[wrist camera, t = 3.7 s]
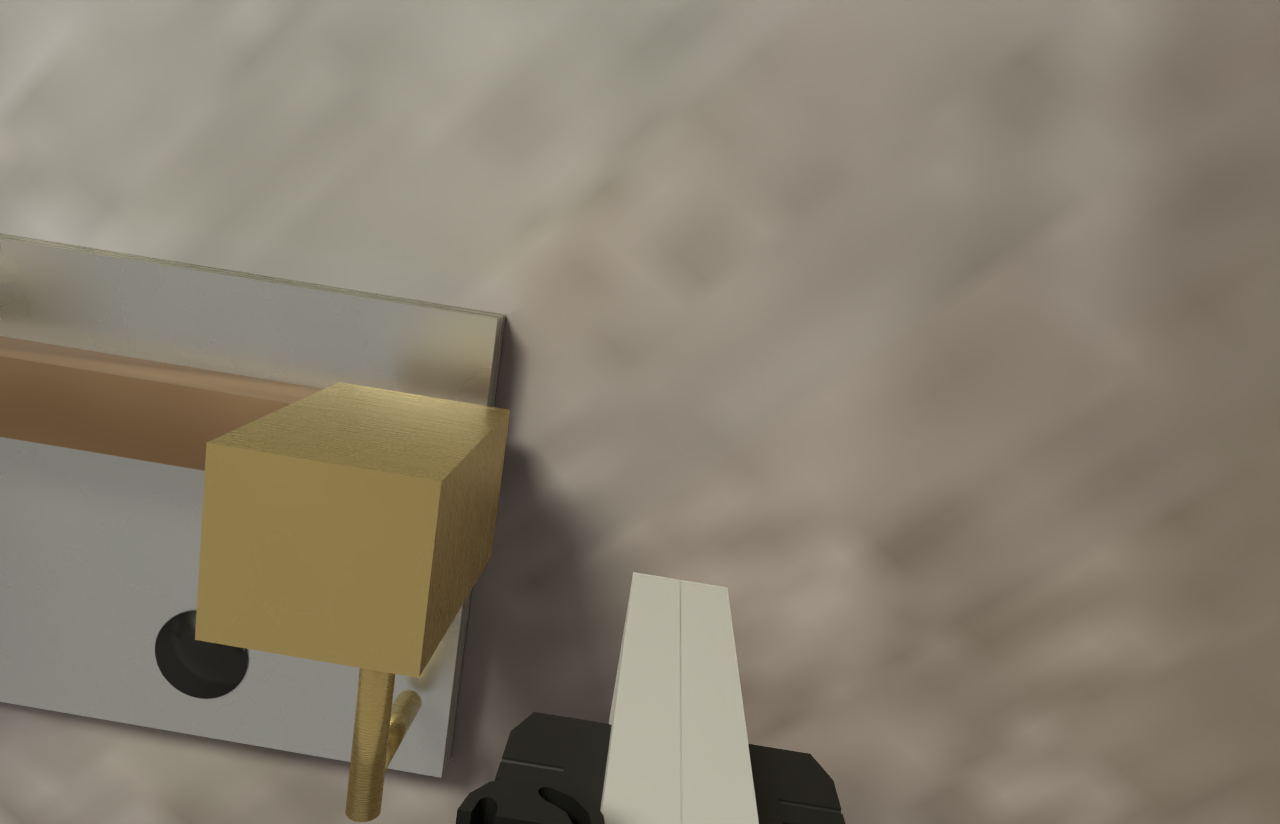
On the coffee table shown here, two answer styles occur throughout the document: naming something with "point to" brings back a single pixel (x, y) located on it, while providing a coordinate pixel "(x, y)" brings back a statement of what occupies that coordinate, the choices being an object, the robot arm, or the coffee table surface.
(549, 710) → the coffee table surface
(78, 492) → the hole plate
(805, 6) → the coffee table surface
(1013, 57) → the coffee table surface
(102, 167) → the coffee table surface
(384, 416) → the slider leg
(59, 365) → the beam
